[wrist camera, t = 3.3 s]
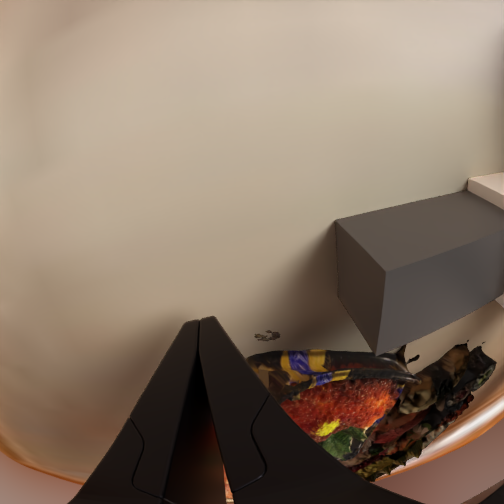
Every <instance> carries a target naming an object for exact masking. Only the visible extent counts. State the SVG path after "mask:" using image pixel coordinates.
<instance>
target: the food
mask: <svg viewBox="0 0 504 504" xmlns="http://www.w3.org/2000/svg"><path fill="white" fill-rule="evenodd" d="M266 332H267V333H272V331H270V330H269V331H266ZM255 335H256V334H255ZM272 335H273V336H272V337H270V338H268V339H267V338H266V337H267V336H264V335H260V334H257V335H256V336H255V337H256V338H260V337H262V338H261V339H257V340H263V341H269V340H275V339H277V338H280V334H279V333H278V332H273V334H272ZM468 341H469V340H468ZM468 341H467V342H468ZM483 343H484V342H483ZM483 343H482V344H483ZM405 348H406V344H405V345H404V346H403V347H402V349H401V350H400V351H399V352H398V353H383V354H381V355H378V356H375V355H374V353H373V352H348V351H330V350H319V349H310V350H303V351H271V352H267V353H262V354H256V355H253V356H250V357H248V358H246V361H247V362H248V364H249V365H250V366H251V368H252V369H253V370H254V372H255V373H256V375H257V376H258V377H259V379H260V380H261V381H262V383H263V384H264V385H265V387H266V388H267V389H268V390H269V392H270V393H271V395H272V396H273V397H274V398H275V399H276V401H277V402H278V403H279V404H280V406H281V407H282V408H283V409H284V410H285V412H286V413H287V414H288V415H289V416H290V417H291V419H292V420H293V421H294V422H295V423H296V424H297V425H298V426H299V427H300V428H301V429H302V430H304V431H305V432H306V433H307V434H308V435H309V436H310V437H311V438H312V439H313V440H315V441H316V442H317V443H318V444H319V445H320V446H322V447H323V448H324V449H325V450H326V451H327V452H329V453H330V454H331V455H332V456H333V457H335V458H336V459H337V460H338V461H340V462H341V463H342V464H343V465H344V466H346V467H347V468H349V469H350V470H351V471H353V472H354V473H356V474H357V475H358V476H360V477H362V478H363V479H365V480H367V481H370V482H375V479H376V478H378V477H380V476H382V475H384V474H388V475H390V472H391V470H393V469H395V468H396V467H398V466H399V465H404V466H405V465H406V461H407V460H409V459H411V458H412V457H416V458H419V456H420V455H421V452H422V450H423V449H424V448H426V447H427V446H428V445H429V444H430V443H431V442H432V441H433V440H434V439H435V438H436V437H437V436H439V435H440V434H441V433H442V432H443V431H444V430H445V429H446V428H447V427H448V425H449V424H451V423H453V422H454V421H455V419H456V418H458V416H459V415H461V414H462V411H464V410H465V409H467V408H468V407H469V405H468V403H470V401H472V400H473V399H474V396H473V395H471V391H472V392H474V391H475V390H477V389H478V388H480V386H482V385H483V384H484V383H485V382H486V381H487V380H488V379H489V377H490V376H491V374H492V373H493V371H494V369H495V366H496V363H497V362H495V361H494V360H493V359H491V358H490V357H488V356H487V355H485V354H484V353H483V351H482V349H481V348H482V347H481V346H479V347H478V346H477V347H476V348H474V349H473V350H472V351H471V352H469V350H468V348H467V344H466V343H465V344H461V345H455V346H454V347H453V348H452V349H451V350H449V351H448V352H447V353H446V354H445V355H444V356H443V357H442V358H440V359H439V360H438V361H436V362H435V363H433V364H431V365H429V366H427V367H426V368H424V369H423V370H422V371H420V372H418V373H416V374H412V373H409V371H408V369H407V366H406V364H408V363H410V362H412V361H416V360H418V358H419V355H417V356H415V357H414V358H412V359H409V361H408V362H407V363H406V362H405V358H404V352H405ZM399 397H400V400H401V402H400V405H399V406H398V405H397V403H396V401H397V400H398V398H399ZM223 469H224V465H223ZM224 481H225V492H226V498H233V497H232V493H231V491H230V487H229V483H228V480H227V476H226V473H225V469H224Z"/></svg>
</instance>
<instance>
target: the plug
mask: <svg viewBox="0 0 504 504" xmlns="http://www.w3.org/2000/svg"><path fill="white" fill-rule="evenodd" d="M335 228H336V246H337V271H338V297H339V299H340V300H341V302H342V304H343V305H344V307H345V308H346V310H347V311H348V313H349V315H350V316H351V318H352V319H353V321H354V322H355V324H356V326H357V327H358V329H359V330H360V332H361V334H362V335H363V337H364V339H365V340H366V342H367V343H368V345H369V347H370V348H371V350H372V352H373V353H374V355H375V356H378V355H381V354H383V353H386V352H388V351H391V350H393V349H395V348H398V347H400V346H403V345H405V344H407V343H410V342H412V341H414V340H416V339H419V338H421V337H423V336H425V335H427V334H430V333H432V332H434V331H436V330H438V329H440V328H442V327H444V326H446V325H448V324H450V323H452V322H454V321H456V320H458V319H460V318H462V317H464V316H466V315H468V314H470V313H471V312H473V311H475V310H477V309H479V308H480V307H482V306H484V305H486V304H488V303H489V302H491V301H493V300H494V299H495V300H496V301H497V302H498V303H499V304H500V305H501V306H502V307H503V308H504V172H501V173H495V174H489V175H483V176H477V177H471V178H468V189H467V190H466V191H461V192H457V193H452V194H447V195H443V196H438V197H434V198H429V199H425V200H420V201H416V202H411V203H407V204H403V205H398V206H394V207H389V208H385V209H381V210H376V211H372V212H367V213H363V214H359V215H354V216H350V217H346V218H342V219H337V220H335Z"/></svg>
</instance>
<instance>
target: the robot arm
mask: <svg viewBox="0 0 504 504" xmlns="http://www.w3.org/2000/svg"><path fill="white" fill-rule="evenodd" d="M223 465H224V469H225V473H226V476H227V480H228V483H229V487H230V491H231V493H232V497H233V501H234V504H424V503H421V502H418V501H416V500H413V499H410V498H407V497H404V496H402V495H399V494H397V493H394V492H391V491H389V490H387V489H384V488H382V487H379V486H377V485H375V484H372V483H370V482H369V481H367V480H365V479H363V478H362V477H360V476H358V475H357V474H356V473H354V472H353V471H351V470H350V469H349V468H347V467H346V466H344V465H343V464H342V463H341V462H340V461H338V460H337V459H336V458H335V457H333V456H332V455H331V454H330V453H329V452H327V451H326V450H325V449H324V448H323V447H322V446H320V445H319V444H318V443H317V442H316V441H315V440H313V439H312V438H311V437H310V436H309V435H308V434H307V433H306V432H305V431H304V430H302V429H301V428H300V427H299V426H298V425H297V424H296V423H295V422H294V421H293V420H292V419H291V417H290V416H289V415H288V414H287V413H286V412H285V410H284V409H283V408H282V407H281V406H280V404H279V403H278V402H277V401H276V399H275V398H274V397H273V396H272V395H271V393H270V392H269V390H268V389H267V388H266V387H265V385H264V384H263V383H262V381H261V380H260V379H259V377H258V376H257V375H256V373H255V372H254V370H253V369H252V368H251V366H250V365H249V364H248V362H247V361H246V360H245V358H244V357H243V355H242V354H241V353H240V351H239V350H238V349H237V347H236V346H235V344H234V343H233V342H232V340H231V339H230V337H229V336H228V334H227V333H226V332H225V330H224V329H223V327H222V326H221V324H220V323H219V321H218V320H217V319H216V317H215V316H210V317H206V318H202V319H201V320H198V319H197V320H192V321H188V322H185V323H184V324H183V326H182V328H181V329H180V331H179V333H178V334H177V336H176V338H175V339H174V341H173V343H172V344H171V346H170V348H169V349H168V351H167V353H166V354H165V356H164V358H163V359H162V361H161V363H160V365H159V366H158V368H157V370H156V371H155V373H154V375H153V376H152V378H151V380H150V381H149V383H148V385H147V387H146V388H145V390H144V392H143V393H142V395H141V397H140V399H139V400H138V402H137V404H136V405H135V407H134V409H133V411H132V412H131V414H130V418H128V419H127V421H126V423H125V424H124V426H123V428H122V430H121V431H120V433H119V434H118V436H117V438H116V439H115V441H114V443H113V444H112V446H111V447H110V449H109V450H108V452H107V453H106V455H105V456H104V457H103V459H102V460H101V462H100V463H99V464H98V466H97V467H96V469H95V470H94V471H93V473H92V474H91V475H90V477H89V478H88V480H87V481H86V482H85V484H84V485H83V486H82V488H81V489H80V490H79V492H78V493H77V494H76V496H75V497H74V498H73V499H72V500H71V501H70V502H69V503H68V504H227V503H226V492H225V481H224V469H223ZM461 504H504V479H503V480H501V481H500V482H498V483H497V484H495V485H493V486H492V487H490V488H488V489H487V490H485V491H483V492H481V493H480V494H478V495H476V496H474V497H473V498H471V499H469V500H467V501H465V502H463V503H461Z"/></svg>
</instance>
